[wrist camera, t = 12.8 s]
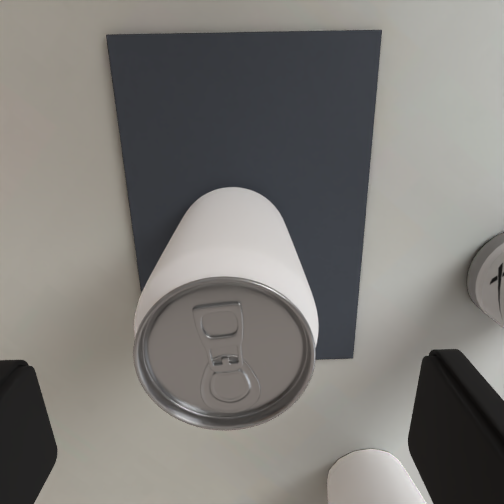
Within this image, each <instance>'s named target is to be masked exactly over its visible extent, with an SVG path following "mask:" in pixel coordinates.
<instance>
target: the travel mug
mask: <svg viewBox="0 0 504 504" xmlns="http://www.w3.org/2000/svg"><path fill="white" fill-rule="evenodd" d="M467 288H468V293H469V295H470V297H471V299H472V301H473V302H474V303H475V305H476V306H477V307H478V308H480V309H481V310H482V311H483V312H485V313H486V314H487V315H488V316H490V317H491V318H492V319H493V320H494V321H495V322H497V323H498V324H499V325H500V326H501V327H503V328H504V232H503V233H501V234H500V235H498V236H496V237H494V238H493V239H491V240H490V241H489V242H487V243H486V244H485V245H484V246H483V247H482V248H481V249H480V250H479V252H478V253H477V254H476V256H475V257H474V259H473V261H472V263H471V265H470V267H469V271H468V275H467Z"/></svg>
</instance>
